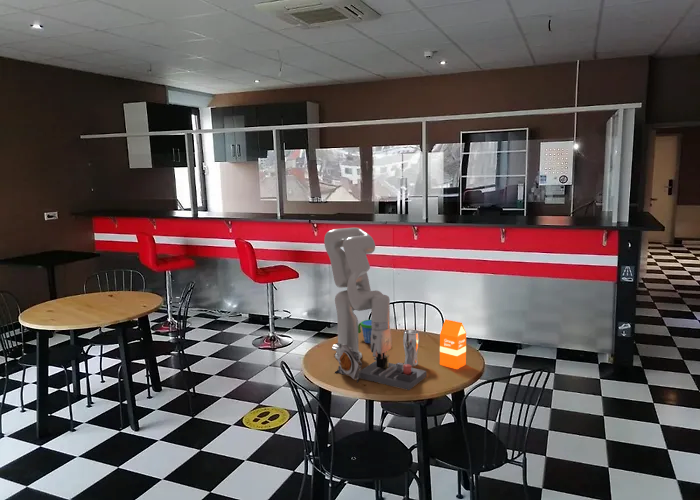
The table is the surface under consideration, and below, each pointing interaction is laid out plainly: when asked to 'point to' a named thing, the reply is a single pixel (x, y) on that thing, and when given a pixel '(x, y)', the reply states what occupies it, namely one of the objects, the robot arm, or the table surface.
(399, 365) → the steel slider
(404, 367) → the button
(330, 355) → the table surface
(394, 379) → the panel
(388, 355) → the brass slider
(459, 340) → the orange juice
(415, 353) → the beer glass
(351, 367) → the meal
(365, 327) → the snack cup
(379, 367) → the robot arm
